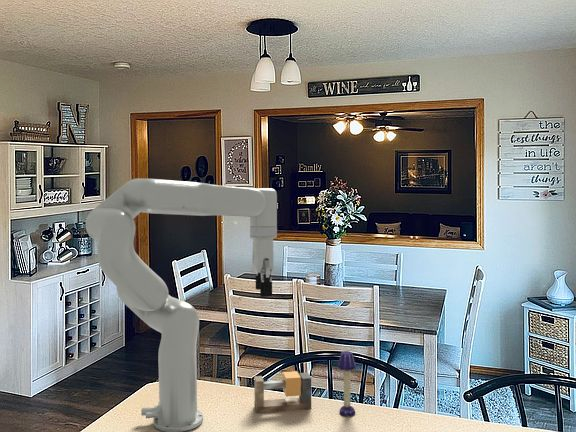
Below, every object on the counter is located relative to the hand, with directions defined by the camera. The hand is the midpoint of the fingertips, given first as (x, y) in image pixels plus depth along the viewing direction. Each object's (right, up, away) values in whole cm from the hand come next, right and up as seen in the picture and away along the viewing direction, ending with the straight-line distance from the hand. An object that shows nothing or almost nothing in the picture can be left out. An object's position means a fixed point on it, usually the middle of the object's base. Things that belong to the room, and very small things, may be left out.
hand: (263, 292), depth 160 cm
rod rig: (+5, -31, -5) cm, 32 cm away
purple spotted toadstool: (+22, -31, -9) cm, 39 cm away
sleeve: (+8, -27, -5) cm, 28 cm away
